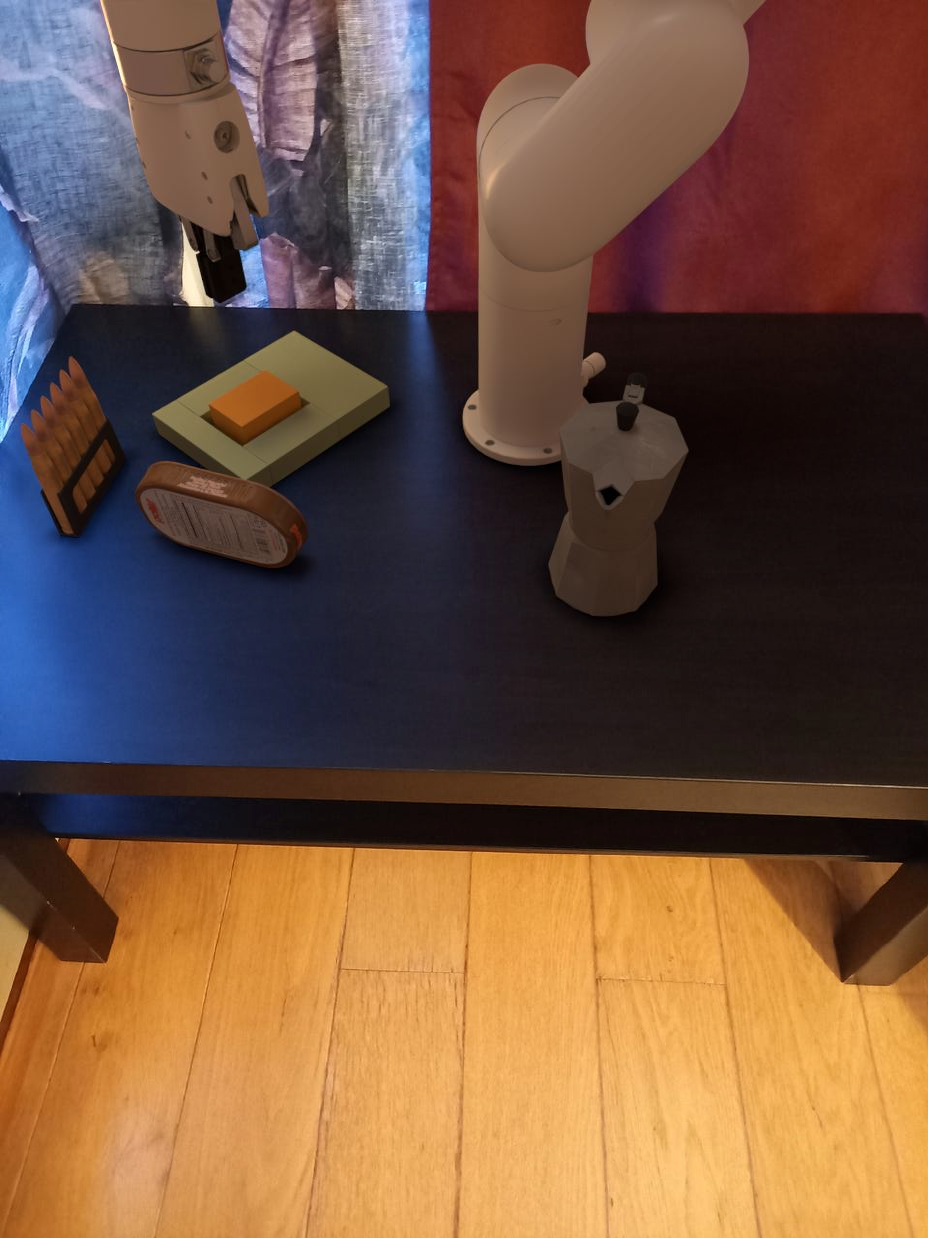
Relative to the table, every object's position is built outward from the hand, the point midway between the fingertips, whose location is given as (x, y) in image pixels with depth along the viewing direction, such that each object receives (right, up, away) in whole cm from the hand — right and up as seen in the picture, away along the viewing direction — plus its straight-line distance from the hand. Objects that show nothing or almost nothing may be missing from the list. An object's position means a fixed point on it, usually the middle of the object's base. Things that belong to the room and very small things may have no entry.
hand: (227, 292), depth 80 cm
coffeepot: (+32, -24, 0) cm, 40 cm away
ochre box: (0, -9, +12) cm, 15 cm away
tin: (0, -22, +2) cm, 22 cm away
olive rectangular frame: (+2, -8, +13) cm, 15 cm away
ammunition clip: (-14, -17, +6) cm, 23 cm away
